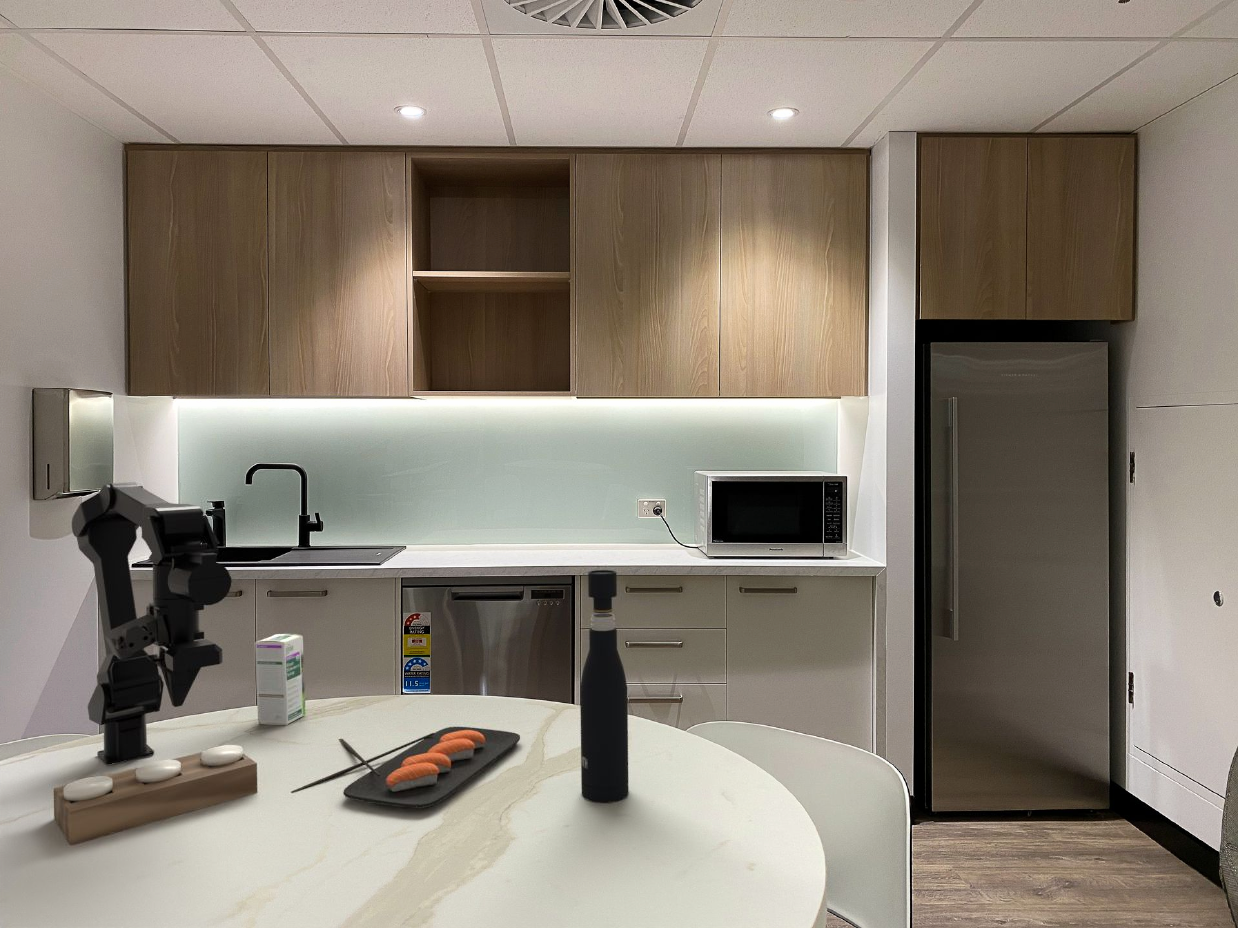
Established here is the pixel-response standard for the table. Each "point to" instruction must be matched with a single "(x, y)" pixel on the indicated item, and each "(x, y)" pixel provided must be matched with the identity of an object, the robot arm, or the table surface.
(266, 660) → the syrup box
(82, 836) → the knob mount
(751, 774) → the table surface
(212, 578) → the robot arm
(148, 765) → the knob middle
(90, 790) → the knob
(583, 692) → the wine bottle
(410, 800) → the sushi plate
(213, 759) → the knob
